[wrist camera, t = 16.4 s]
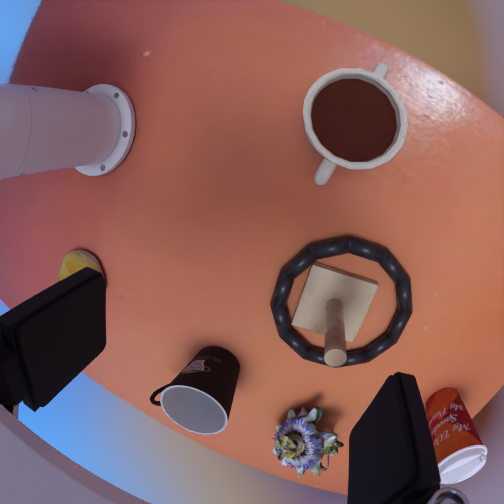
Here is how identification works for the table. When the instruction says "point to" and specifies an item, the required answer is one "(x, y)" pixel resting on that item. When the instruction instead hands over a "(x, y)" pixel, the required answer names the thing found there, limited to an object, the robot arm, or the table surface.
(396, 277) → the ring
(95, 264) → the bread roll
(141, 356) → the table surface
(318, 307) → the post
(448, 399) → the paper cup
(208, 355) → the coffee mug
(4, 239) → the table surface
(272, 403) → the table surface
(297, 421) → the passion flower
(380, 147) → the white handled cup
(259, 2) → the table surface
